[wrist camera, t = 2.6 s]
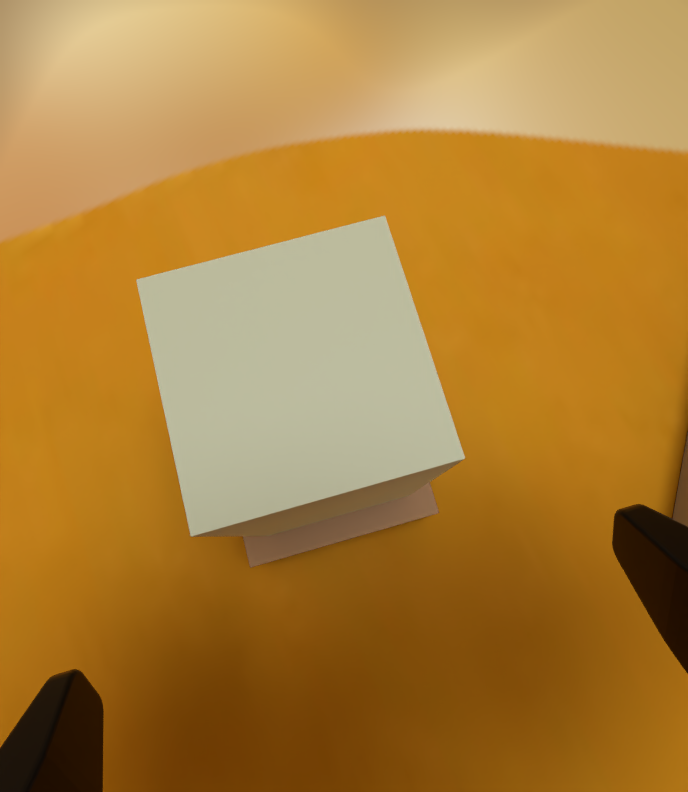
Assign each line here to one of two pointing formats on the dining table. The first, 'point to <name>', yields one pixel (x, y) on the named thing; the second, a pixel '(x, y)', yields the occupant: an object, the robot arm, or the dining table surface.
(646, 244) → the dining table surface
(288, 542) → the walnut box
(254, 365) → the pale green square pillar
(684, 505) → the tile
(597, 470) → the dining table surface
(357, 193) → the dining table surface
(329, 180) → the dining table surface
